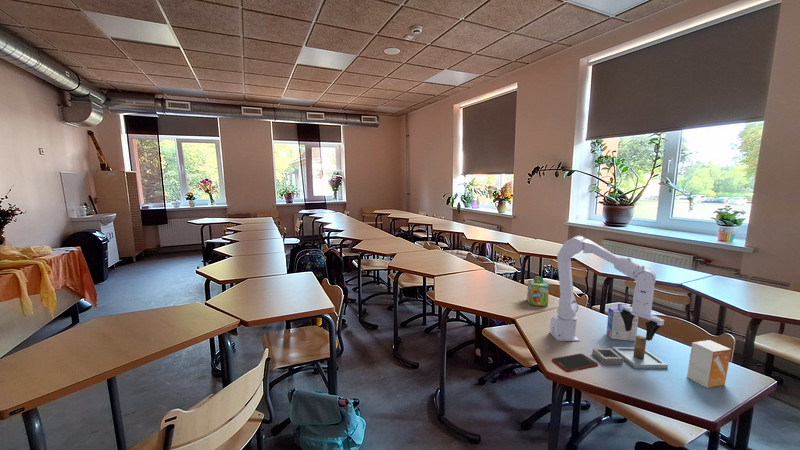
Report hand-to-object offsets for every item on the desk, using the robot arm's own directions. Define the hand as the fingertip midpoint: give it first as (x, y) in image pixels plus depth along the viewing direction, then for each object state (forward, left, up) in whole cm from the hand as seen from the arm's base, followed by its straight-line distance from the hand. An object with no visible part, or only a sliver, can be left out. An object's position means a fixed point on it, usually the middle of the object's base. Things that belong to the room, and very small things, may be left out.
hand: (638, 335), depth 119 cm
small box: (+14, -14, -10) cm, 22 cm away
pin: (+1, -1, -9) cm, 9 cm away
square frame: (-11, -1, -9) cm, 15 cm away
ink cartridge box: (+6, +16, -10) cm, 20 cm away
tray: (+1, -1, -9) cm, 9 cm away
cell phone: (-25, -4, -10) cm, 28 cm away
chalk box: (-14, +54, -10) cm, 57 cm away
